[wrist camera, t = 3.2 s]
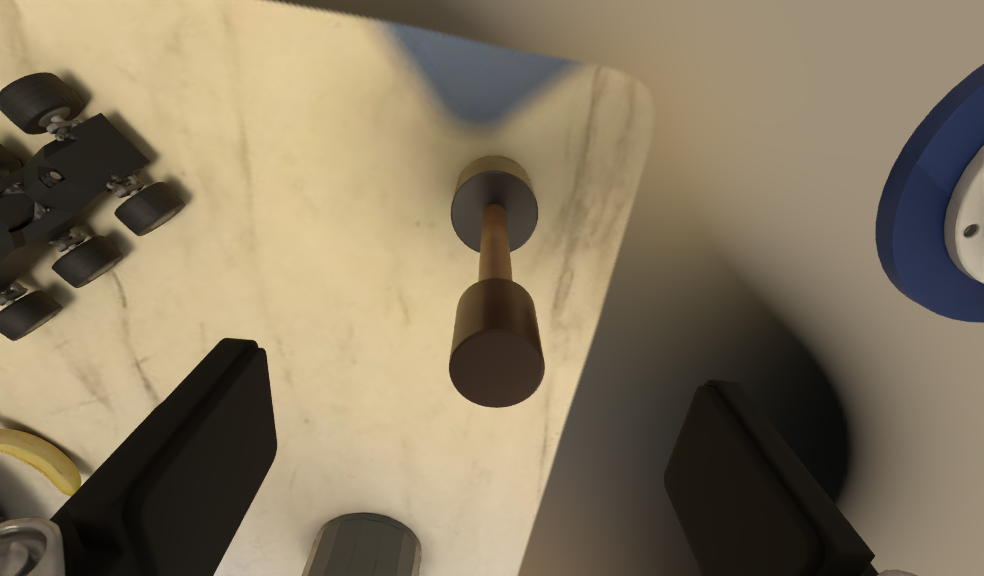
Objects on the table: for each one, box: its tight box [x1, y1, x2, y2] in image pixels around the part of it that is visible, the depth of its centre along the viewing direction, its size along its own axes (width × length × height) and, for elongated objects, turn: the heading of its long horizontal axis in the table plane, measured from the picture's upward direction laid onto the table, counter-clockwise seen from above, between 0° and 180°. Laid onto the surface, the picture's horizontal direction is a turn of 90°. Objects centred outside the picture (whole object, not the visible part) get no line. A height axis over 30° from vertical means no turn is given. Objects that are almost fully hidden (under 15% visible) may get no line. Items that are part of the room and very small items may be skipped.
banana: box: [0, 429, 81, 496], centre depth 34 cm, size 8×2×4 cm, turn 41°
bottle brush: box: [449, 156, 545, 408], centre depth 19 cm, size 4×4×17 cm
